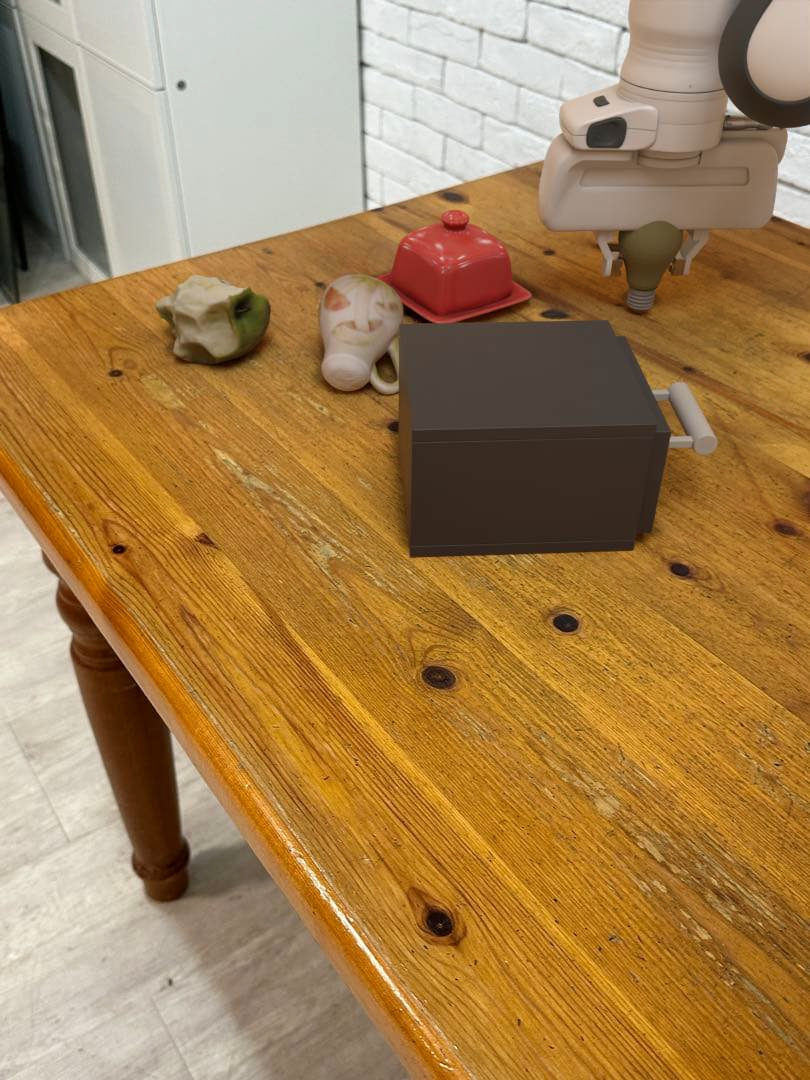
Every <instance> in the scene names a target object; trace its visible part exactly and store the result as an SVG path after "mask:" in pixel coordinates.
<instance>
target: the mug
mask: <svg viewBox="0 0 810 1080" xmlns="http://www.w3.org/2000/svg"><path fill="white" fill-rule="evenodd" d="M404 312H405V311H404V304H403V303H402V301H401V299H400V297H399V296H398V294H397V293H396V292H395V291H394V290H393V289H392V288H391V287H390V286H389V285H387V284H386V283H384V282H383V281H381V280H379V279H377V277H373V276H371V275H366V274H345V275H341V276H339V277H338V278H336V279H334V280H332V281H331V282H330V284H329V285H327V287H326V288H325V290H324V291H323V294H322V295H321V298H320V301H319V304H318V308H317V322H318V329H319V332H320V336H321V340H322V343H323V346H324V354H323V358H322V362H321V365H320V370H321V374H322V377H323V378H324V380H325V381H326V382H327V383H328V384H329V385H330V386H331V387H333V388H335V389H337V390H339V391H343V392H352V391H357V390H360V389H362V388H363V387H365V386H366V385H367V384H368V383H370V384H371V385H372V387H373V388H374V389H376V391H378V393H380V394H382V395H385V396H386V395H393V394H397V393H399V324H404V317H405V315H404V314H405V313H404ZM386 353H388V355H389V357H390V359H391V362H392V364H393V367H394V370H395V374H396V381H395V382H392V383H389V382H386V381H384V380H382V378H380V376H379V373H378V369H377V366H376V363H377V362H378V361H379V360H380V359H382V357H383V356H384V355H385V354H386Z"/></svg>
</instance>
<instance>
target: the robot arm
mask: <svg viewBox="0 0 810 1080" xmlns="http://www.w3.org/2000/svg"><path fill="white" fill-rule="evenodd" d="M628 3H629V4H628V9H627V10H628V11H627V20H628V21H627V22H628V29H629V42H628V48H627V52H626V54H625V57H624V60H623V63H622V65H621V68H620V73H619V80H618V82H617V83H615V84H612V85H610V86H607V87H605V88H602V89H600V90H596V91H593V92H590V93H588V94H585V95H581V96H578V97H575V98H572V99H569V100H567V101H565V102H563V103H562V104H561V106H560V108H559V113H558V123H559V128H560V130H561V133H559V134H558V135H557V136H556V137H555V138H554V139H553V140H552V142H551V143H550V145H549V146H548V148H547V151H546V153H545V157H544V161H543V165H542V170H541V174H540V179H539V186H538V192H537V200H536V212H537V215H538V218H539V220H540V222H541V223H542V225H543V226H544V227H545V228H546V229H547V231H549V232H552V233H554V232H555V233H557V232H558V233H559V232H561V233H562V232H564V233H565V232H592V235H593V237H594V239H595V241H596V243H597V246H598V248H599V249H600V251H601V255H602V256H601V262H600V273H601V275H602V276H603V278H614V277H615V278H616V277H617V278H618V277H620V278H621V275H622V268H623V265H624V262H623V259H622V256H621V253H620V251H611V249H610V247H609V245H608V243H611V242H612V243H613V242H614V238H615V234H616V233H615V232H619V231H634V230H637V229H639V228H640V227H642V226H644V225H646V224H648V223H651V222H653V221H666V222H668V223H670V224H672V225H674V226H675V227H676V228H677V229H679V230H683V231H686V232H687V233H688V235H689V236H688V238H687V239H686V240H685V242H684V243H683V244H682V245H681V247H680V249H679V252H678V254H677V255H676V257H675V258H674V260H673V261H672V262H671V264H670V265H669V266H668V268H667V271H668V273H670V276H671V277H687V276H689V274H690V269H691V264H692V259H694V258H695V257H696V256H697V255H698V254H699V252H700V251H701V250H702V249H703V248H704V246H706V244H707V242H708V241H709V237H710V232H711V230H759V229H762V228H763V227H764V226H765V225H766V224H767V223H768V222H769V221H771V219H772V217H773V215H774V211H775V210H774V209H775V205H776V196H777V189H778V177H779V164H781V162H782V160H783V159H784V156H785V153H786V148H787V144H788V139H789V134H788V130H787V129H796V128H797V129H798V128H802V127H807V126H810V0H629V2H628ZM728 101H730V102H731V103H732V104H733V105H734V107H735V108H736V109H737V110H738V111H739V112H740V113H742V114H726V113H727V108H728Z"/></svg>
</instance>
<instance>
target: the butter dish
mask: <svg viewBox="0 0 810 1080" xmlns="http://www.w3.org/2000/svg"><path fill="white" fill-rule="evenodd" d="M440 221H441V222H437V223H433V224H429V225H425V226H422V227H420V228H418V229H415V230H413V231H411V232H409V233H408V234H406V235H405V236H403V237H402V238H401V240H400V241H399V243H398V245H397V249H396V253H395V256H394V260H393V264H392V269H391V271H390V272H388V273H385V274H382V275H379V276H376V278H377V279H379V280H381V281H383V282H384V283H386V284H387V285H389V286H390V287H391V288H392V289H393V290H394V291H395V292H396V293H397V294H398V296H399V297H400V299H401V301H402V304H403V305H404V306H406V307H407V308H409V309H410V310H412V311H413V312H415V313H416V314H418V315H419V316H421V318H422V319H425V320H426V321H428V322H429V323H461V322H463V321H465V320H469V319H473V318H476V317H479V316H483V315H486V314H489V313H493V312H496V311H498V310H502V309H505V308H509V307H511V306H514V305H518V304H520V303H523V302H526V301H528V300H530V299H531V298H532V297H533V295H532V293H531V292H530V291H529V290H528V289H526V288H525V287H524V286H522V285H520V284H519V283H517V282H515V281H514V280H513V273H512V272H513V271H512V263H511V262H512V261H511V258H510V253H509V251H508V248H507V247H506V246H505V245H504V244H503V243H502V242H501V240H500V239H498V238H497V237H496V236H494V235H493V234H492V233H490V232H489V231H487V230H486V229H484V228H482V227H480V226H478V225H475V224H473V223H471V222H470V216H469V214H467V212H465V211H463V210H461V209H450V210H446V211H444V212H443V213H441V216H440Z"/></svg>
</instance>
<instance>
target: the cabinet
mask: <svg viewBox="0 0 810 1080" xmlns="http://www.w3.org/2000/svg"><path fill="white" fill-rule="evenodd" d="M616 336H617V335H616V333H615V331H614V329H613V326H612V325H611V322H610V320H609V319H598V320H597V319H596V320H595V319H593V320H592V319H591V320H590V319H589V320H588V319H587V320H541V321H540V320H539V321H536V320H535V321H493V322H492V321H488V322H487V321H485V322H484V321H482V322H481V321H480V322H456V323H432V322H429V323H427V322H425V323H424V322H423V323H403V324H399V391H398V412H397V413H398V420H397V425H398V427H397V428H398V429H397V435H398V436H397V443H398V444H397V445H398V453H399V462H400V472H401V482H402V491H403V492H402V494H403V502H404V511H405V521H406V532H407V541H408V552H409V557H410V558H426V557H427V558H429V557H460V556H461V557H462V556H463V557H464V556H493V555H494V556H495V555H526V554H557V553H559V554H561V553H590V552H623V551H628V552H629V551H634V550H635V545H636V539H637V534H638V533H637V529H638V523H639V518H640V513H641V507H642V502H643V497H644V491H645V486H646V481H647V475H648V470H649V465H650V459H651V454H652V449H653V443H654V438H655V433H656V428H657V423H656V421H655V419H654V416H653V414H652V412H651V410H650V408H649V406H648V404H647V401H646V399H645V397H644V395H643V393H642V391H641V389H640V386H639V384H638V382H637V380H636V378H635V376H634V374H633V372H632V369H631V367H630V365H629V363H628V361H627V359H626V357H625V354H624V352H623V350H622V348H621V346H620V344H619V342H618V339H617V337H616Z"/></svg>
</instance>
